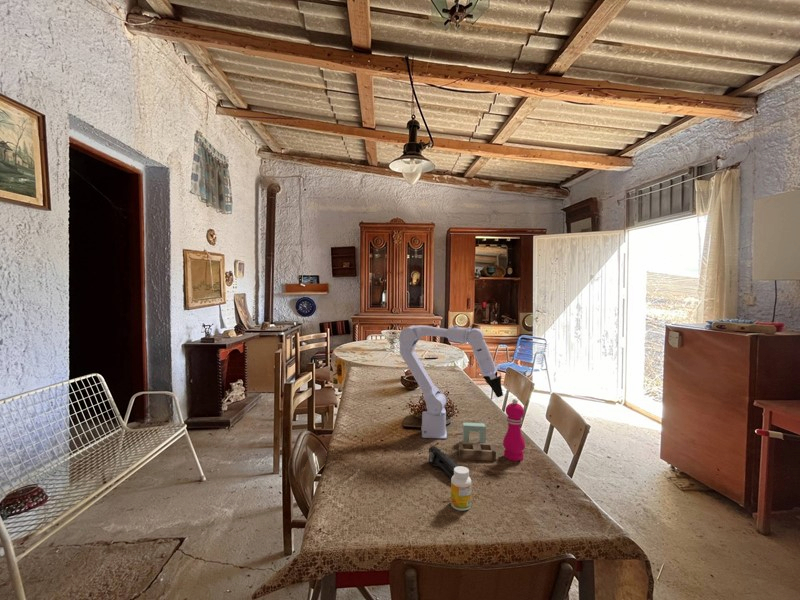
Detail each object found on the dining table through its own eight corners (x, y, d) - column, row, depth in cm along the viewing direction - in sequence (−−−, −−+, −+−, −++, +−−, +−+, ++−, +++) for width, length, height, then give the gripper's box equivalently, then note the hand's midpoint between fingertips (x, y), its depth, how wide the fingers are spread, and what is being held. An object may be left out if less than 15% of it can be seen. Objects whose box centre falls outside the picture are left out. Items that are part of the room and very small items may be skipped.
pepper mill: (524, 453, 131) (526, 397, 130) (524, 463, 124) (526, 403, 123) (503, 450, 133) (504, 395, 132) (502, 459, 126) (503, 401, 125)
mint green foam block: (463, 444, 138) (463, 425, 138) (462, 440, 141) (463, 422, 141) (485, 445, 137) (485, 426, 137) (484, 441, 140) (484, 423, 140)
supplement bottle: (448, 499, 103) (449, 465, 102) (468, 499, 103) (468, 464, 103) (453, 511, 97) (453, 475, 97) (473, 510, 98) (474, 474, 97)
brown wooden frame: (459, 458, 127) (459, 449, 126) (458, 450, 133) (458, 441, 133) (495, 460, 125) (495, 451, 125) (493, 452, 132) (493, 443, 132)
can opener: (423, 461, 125) (423, 444, 125) (441, 457, 128) (441, 441, 128) (451, 488, 109) (451, 469, 109) (471, 483, 112) (471, 464, 111)
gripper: (497, 357, 132) (512, 394, 131) (492, 353, 146) (505, 386, 145) (478, 365, 133) (493, 401, 132) (475, 360, 147) (488, 393, 146)
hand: (498, 394), depth 138 cm, fingers open, 7 cm apart
